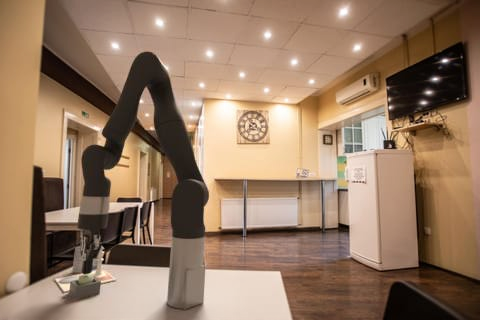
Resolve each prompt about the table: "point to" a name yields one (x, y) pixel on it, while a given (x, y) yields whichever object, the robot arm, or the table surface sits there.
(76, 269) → the medicine box
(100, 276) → the chess piece
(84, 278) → the button
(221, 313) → the table surface
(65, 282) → the sheet
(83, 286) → the button box
